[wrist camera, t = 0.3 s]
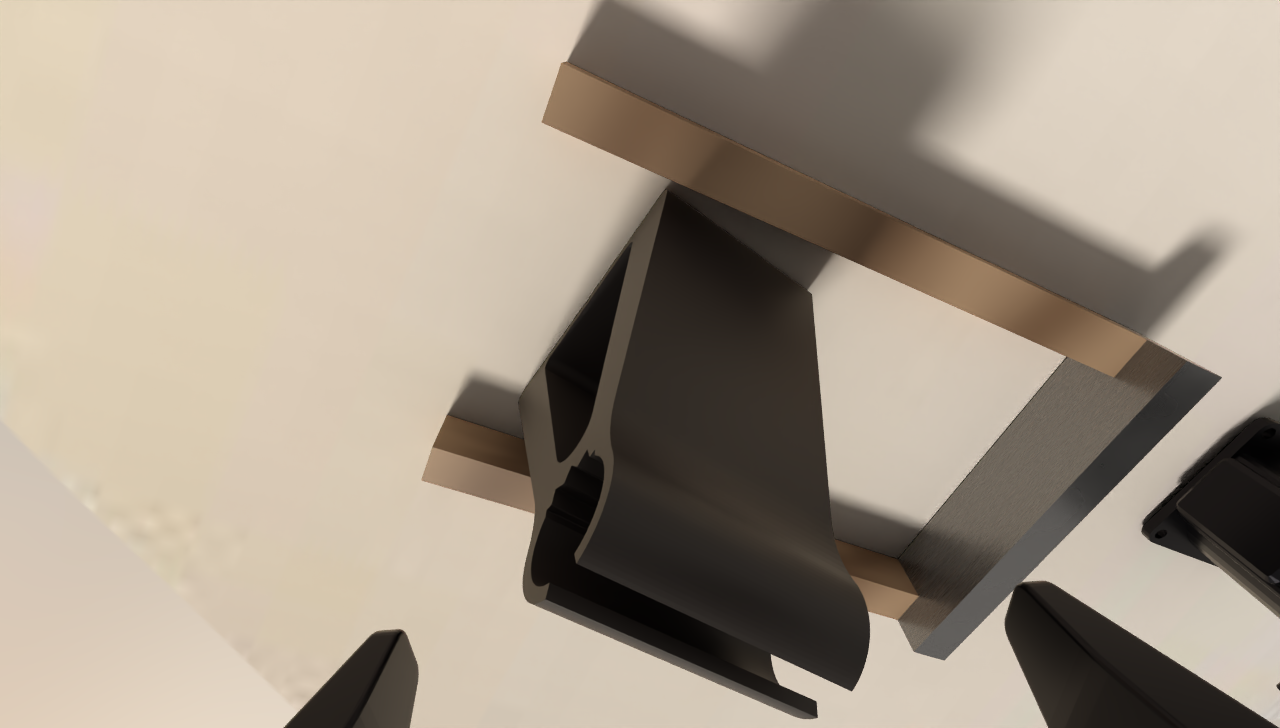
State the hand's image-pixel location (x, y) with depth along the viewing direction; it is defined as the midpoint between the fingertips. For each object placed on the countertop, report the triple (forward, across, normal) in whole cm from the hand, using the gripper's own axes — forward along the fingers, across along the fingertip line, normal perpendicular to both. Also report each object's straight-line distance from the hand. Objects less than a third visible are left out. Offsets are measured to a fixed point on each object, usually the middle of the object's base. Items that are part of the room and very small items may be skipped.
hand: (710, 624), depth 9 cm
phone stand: (+13, 0, +2) cm, 13 cm away
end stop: (+13, -13, +8) cm, 20 cm away
